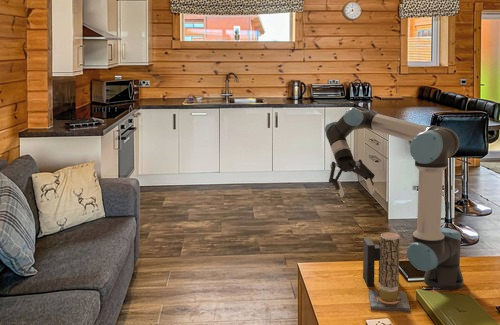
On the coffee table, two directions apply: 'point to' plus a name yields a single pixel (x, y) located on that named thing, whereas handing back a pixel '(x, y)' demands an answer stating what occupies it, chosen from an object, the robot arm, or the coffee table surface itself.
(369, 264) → the light fixture
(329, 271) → the coffee table surface
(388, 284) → the paper tube
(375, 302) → the plate
